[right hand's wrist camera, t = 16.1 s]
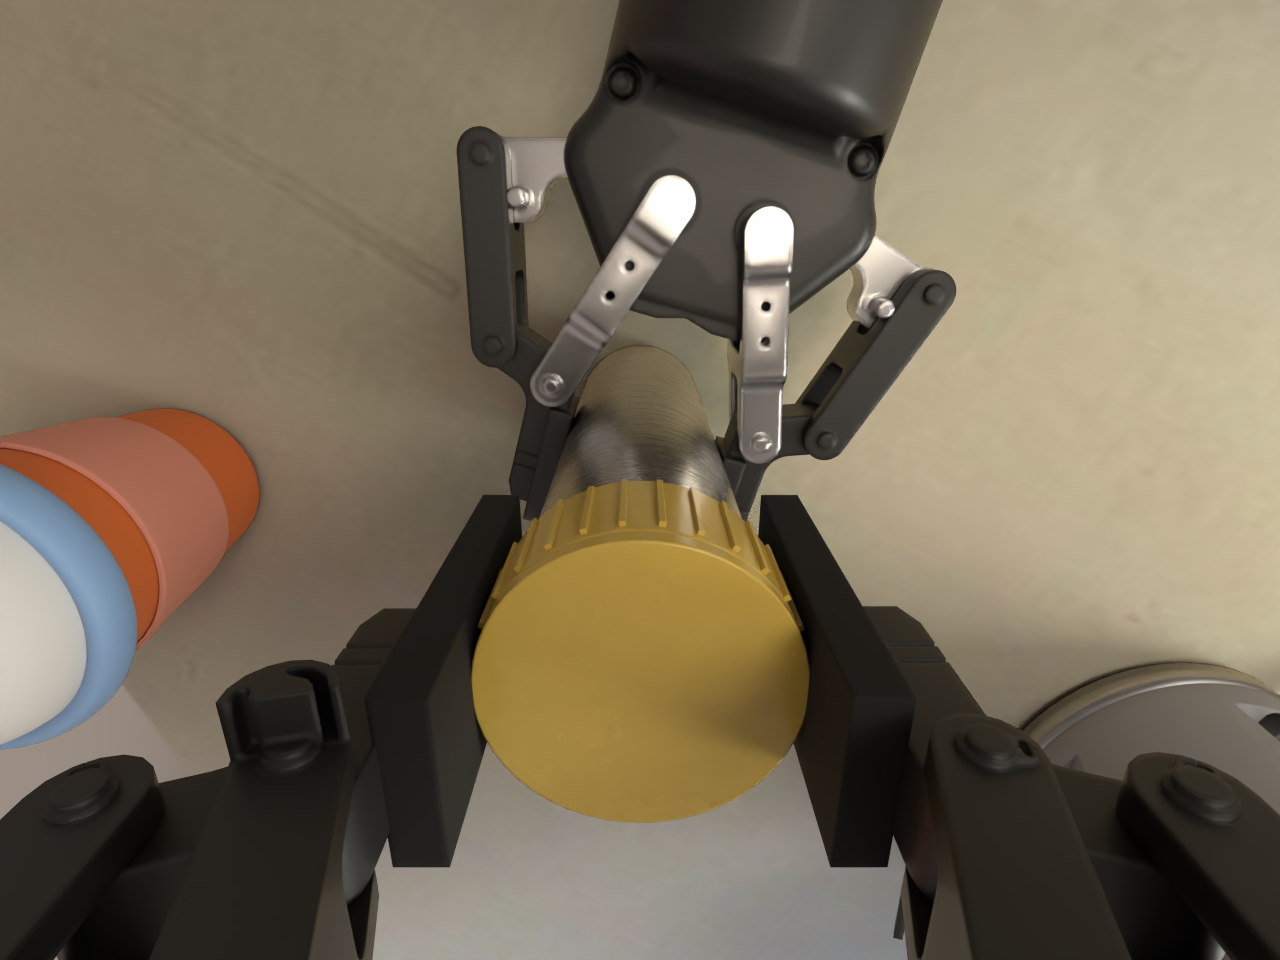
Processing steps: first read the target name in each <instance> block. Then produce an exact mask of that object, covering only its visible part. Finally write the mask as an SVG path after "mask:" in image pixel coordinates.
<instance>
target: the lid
mask: <svg viewBox="0 0 1280 960" xmlns="http://www.w3.org/2000/svg"><path fill="white" fill-rule="evenodd" d="M478 628H481V629H482V631H481V633H480V636H479V638H478V641H477V643H476V647H475V652H474V656H473V660H472V668H471V682H472V692H473V702H474V709H475V714H476V718H477V720H478V723H479V725H480V728H481V730H482V733H483V735H484V737H485V739H486V740H487V742H488V744H489V745H490V747H491V749H492V751H493V752H494V753H495V755H496V756H497V757H498V758H499V760H500V761H501V762H502V764H503V765H504V766H505V767H506V768H507V769H508V770H509V771H510V772H511V773H512V774H513V775H514V776H515V777H516V778H517V779H518V780H520V781H521V782H522V783H523V784H525V785H526V786H527V787H529V788H530V789H531V790H533V791H534V792H536V793H537V794H539V795H541V796H542V797H544V798H546V799H547V800H549V801H551V802H553V803H555V804H558V805H560V806H562V807H564V808H566V809H569V810H572V811H575V812H578V813H581V814H584V815H587V816H591V817H596V818H600V819H605V820H612V821H620V822H639V823H649V822H661V821H670V820H675V819H681V818H686V817H690V816H694V815H697V814H700V813H704V812H707V811H709V810H712V809H714V808H717V807H719V806H722V805H724V804H726V803H728V802H730V801H732V800H733V799H735V798H737V797H739V796H741V795H743V794H744V793H745V792H747V791H748V790H750V789H751V788H752V787H754V786H755V785H757V784H758V783H759V782H760V781H762V780H763V779H764V778H765V777H766V776H767V775H768V774H769V773H770V772H771V771H773V769H774V768H775V767H776V766H777V765H778V764H779V762H780V761H781V760H782V759H783V758H784V757H785V755H786V754H787V752H788V750H789V749H790V747H791V746H792V744H793V743H794V741H795V739H796V737H797V735H798V733H799V731H800V728H801V726H802V724H803V721H804V717H805V714H806V706H807V697H808V687H809V676H810V665H809V660H808V655H807V649H806V647H805V644H804V641H803V638H802V635H801V633H800V632H801V631H804V626H803V624H802V621H801V619H800V616H799V614H798V611H797V609H796V606H795V604H794V602H793V599H792V597H791V594H790V592H789V589H788V587H787V584H786V582H785V580H784V577H783V575H782V572H781V571H780V570H779V567H778V565H777V562H776V560H775V557H774V555H773V552H772V550H771V548H770V546H769V544H767V545H765V546H764V544H763V543H762V541H761V540H760V539H759V537H758V536H757V535H756V533H755V530H754V528H753V525H752V523H751V522H750V521H749V520H747V521H746V522H745V521H744V520H743V519H742V518H741V517H740V516H738V515H737V514H736V513H734V512H733V511H732V510H731V509H729V508H728V505H727V503H726V502H724V501H723V500H722V501H721V502H718V501H717V500H715V499H713V498H711V497H710V496H707V495H705V494H702V493H700V492H698V491H697V488H695V487H692V486H691V487H690V488H686V487H682V486H679V485H675V484H670V483H663V480H659V479H657V480H656V481H628V479H622V480H621V482H618V483H611V484H607V485H603V486H598V487H594V486H589V487H588V488H587V490H586V491H584V492H581V493H578V494H576V495H574V496H572V497H570V498H568V499H566V500H564V501H563V499H560V500H558V501H557V503H556V506H555V507H553V508H552V509H551V510H549V511H548V512H546V513H545V514H544V515H543V516H542V517H541V518H540V519H538V520H537V519H536V518H534V519H533V520H532V521H531V523H530V526H529V529H528V531H527V532H526V533H525V535H524V536H523V537H522V538H521V540H520V541H519V543H516V542H514V543H513V545H512V546H511V549H510V551H509V554H508V556H507V559H506V561H505V564H504V566H503V569H502V568H501V570H500V572H499V574H498V577H497V579H496V582H495V584H494V587H493V589H492V592H491V594H490V597H489V599H488V601H487V604H486V606H485V609H484V611H483V614H482V616H481V619H480V621H479V624H478Z"/></svg>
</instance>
